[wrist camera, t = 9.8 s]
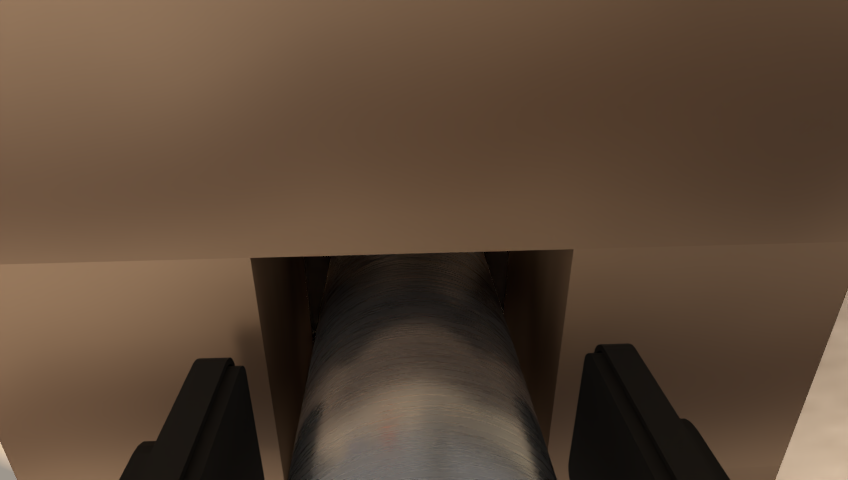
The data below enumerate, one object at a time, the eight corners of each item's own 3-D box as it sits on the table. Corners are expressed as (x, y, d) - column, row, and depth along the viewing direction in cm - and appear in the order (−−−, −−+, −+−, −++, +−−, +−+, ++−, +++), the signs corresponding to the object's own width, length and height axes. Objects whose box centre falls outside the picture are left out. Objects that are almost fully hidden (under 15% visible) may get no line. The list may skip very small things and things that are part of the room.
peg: (326, 190, 14) (146, 860, 4) (484, 187, 15) (749, 814, 4) (337, 322, 16) (235, 1038, 5) (478, 318, 16) (646, 1000, 6)
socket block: (2, -84, 11) (-245, -110, 7) (774, -81, 12) (997, -104, 8) (163, 482, 19) (92, 649, 14) (646, 460, 19) (724, 611, 15)
